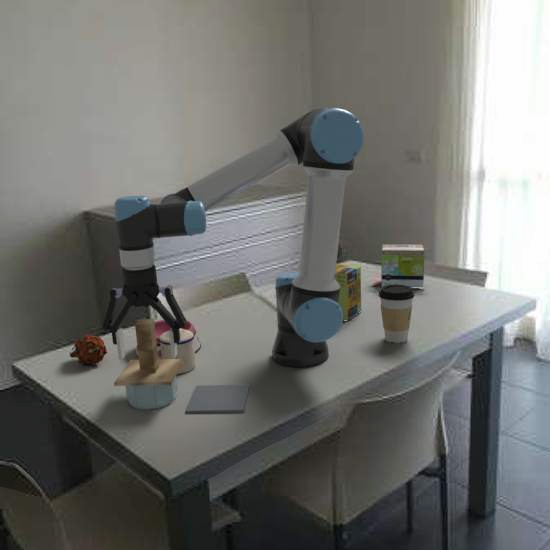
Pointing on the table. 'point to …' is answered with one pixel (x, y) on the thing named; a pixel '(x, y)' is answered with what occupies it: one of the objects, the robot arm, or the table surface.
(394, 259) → the tea box
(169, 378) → the oak lid
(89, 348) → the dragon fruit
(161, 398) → the ceramic bowl
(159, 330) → the dog bowl
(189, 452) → the table surface
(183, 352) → the teacup with lid
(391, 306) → the coffee cup
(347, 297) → the protein box
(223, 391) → the slate mat
